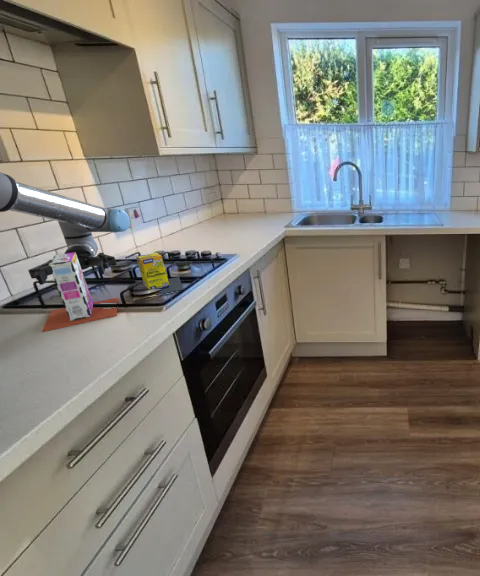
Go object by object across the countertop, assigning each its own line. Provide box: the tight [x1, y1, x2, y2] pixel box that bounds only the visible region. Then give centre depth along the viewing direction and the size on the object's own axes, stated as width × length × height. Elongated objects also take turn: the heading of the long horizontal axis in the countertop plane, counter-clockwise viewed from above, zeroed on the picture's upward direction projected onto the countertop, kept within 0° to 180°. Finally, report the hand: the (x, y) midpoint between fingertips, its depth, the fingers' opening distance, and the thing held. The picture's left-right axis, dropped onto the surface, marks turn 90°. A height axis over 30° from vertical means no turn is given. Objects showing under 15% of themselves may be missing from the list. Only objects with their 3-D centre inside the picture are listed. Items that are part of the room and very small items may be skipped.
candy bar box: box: [49, 252, 94, 321], centre depth 100 cm, size 11×5×16 cm, turn 34°
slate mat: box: [156, 276, 185, 295], centre depth 120 cm, size 14×14×1 cm
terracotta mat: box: [41, 297, 119, 333], centre depth 103 cm, size 16×14×1 cm
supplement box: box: [135, 252, 170, 289], centre depth 118 cm, size 6×6×11 cm
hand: (71, 274), depth 101 cm, fingers open, 13 cm apart
